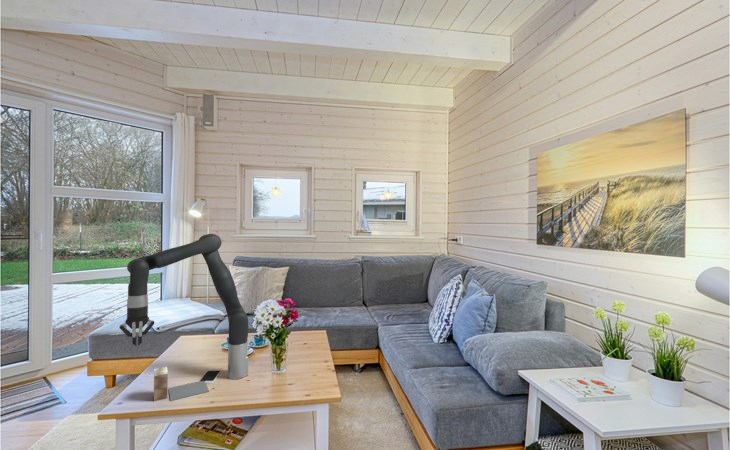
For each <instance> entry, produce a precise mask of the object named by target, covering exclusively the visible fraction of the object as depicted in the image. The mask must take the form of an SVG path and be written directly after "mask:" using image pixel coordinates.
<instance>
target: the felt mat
mask: <svg viewBox="0 0 730 450" xmlns="http://www.w3.org/2000/svg"><path fill="white" fill-rule="evenodd" d="M209 392H210V390H209V387H208V385H207V384H206V382H205V381H199V380H198V381H194V382H189V383H184V384H180V385H176V386H171V387H168V393H169V401H170V402H173V401H176V400H180V399H185V398H189V397H193V396H197V395H200V394H201V395H202V394H206V393H209Z"/></svg>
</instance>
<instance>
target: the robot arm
mask: <svg viewBox="0 0 730 450" xmlns="http://www.w3.org/2000/svg"><path fill="white" fill-rule="evenodd" d="M221 246H222V238H221V237H220V236H219V235H218V234H215V233H207V234H203V235H201V236H200V237H199V238H198V239H197V240H195V241H192V242H189V243H186V244H182V245H179V246H175V247H172V248H171V247H170V248H168V249H165V250H162V251H159V252H156V253H153V254H149V255H145V256H141V257H137V258H134V259H132V260H130V261H129V262H128V263H127V265H126V269H127V271H128V273H129V283H128V287H127V299H126V319H125V320H124V321H125V322H124V323H122V324H120V325H119V329H120V330H121V331H122V332H123V333H124V334H125V335H126V337H128V338H132V346H133V345H134V347H135V346H141V344H142V343H143V336H144V335H147V334H148V333H149V332H150V330H151V329H152V328H153V326H154V325H155V321H154V320H151V319H150V317H149V313H148V312H149V297H148V281H149V275H150V271H151V270H155V269H161V268H164V267H167V266H170V265H174V264H175V263H178V262H181V261H184V260H186V259H189V258H191V257H195V256H198V255H202V257H203V259H204V260H205V263H206V266H207V269H208V272H209V275H210V277H211V278H210V279H211V280H212V283H213V285H214V289H215V290H216V293H217V295H218V296H219V298H220V300H221V301H222V303H223V305H224V307H225V311H226V316H227V320H228V342H227V343H228V346H227V348H228V350H227V378H228V379H230V380H240V379H243V378H245V377H247V376H249V356H248V336H249V318H248V314H247V312H246V311H245V310H244V308H243V306H242V304H241V302H240V300H239V296H238V290H237V287H236V283H235V281H234V277H233V276H232V273H231V271H230V269H229V268H228V266H227V265H226V263H224V261H223V260H222V258H221V256H220V252H219V249H220V248H221ZM146 325H147V326H146ZM145 326H146V328H144V327H145ZM127 327H128V328H129V329H131V330H132V332H131V331H130V330H129V329H127ZM143 328H144V330H143ZM137 330H138V336H137Z"/></svg>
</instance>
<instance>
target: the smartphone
mask: <svg viewBox="0 0 730 450" xmlns="http://www.w3.org/2000/svg"><path fill="white" fill-rule="evenodd" d="M222 371H223V369H221V368H220V369H219V368H218V369H216V368H215V369H207V371H205V373H204V374H203V375H202V376H201V377H200V379H199V380H198V381H205V382H206V384H208V385H209V384H213V383H214V382H215V381H216V380H217V378H218V377H219V375H220V374H221V372H222Z"/></svg>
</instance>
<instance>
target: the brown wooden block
mask: <svg viewBox="0 0 730 450" xmlns="http://www.w3.org/2000/svg"><path fill="white" fill-rule="evenodd" d="M168 372H169V371H168V366H163V367H159V368H154V369H153V401H154V402H157V401H162V400H166V399H168V389H169V387H168V383H169V382H168V377H169V375H168Z"/></svg>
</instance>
